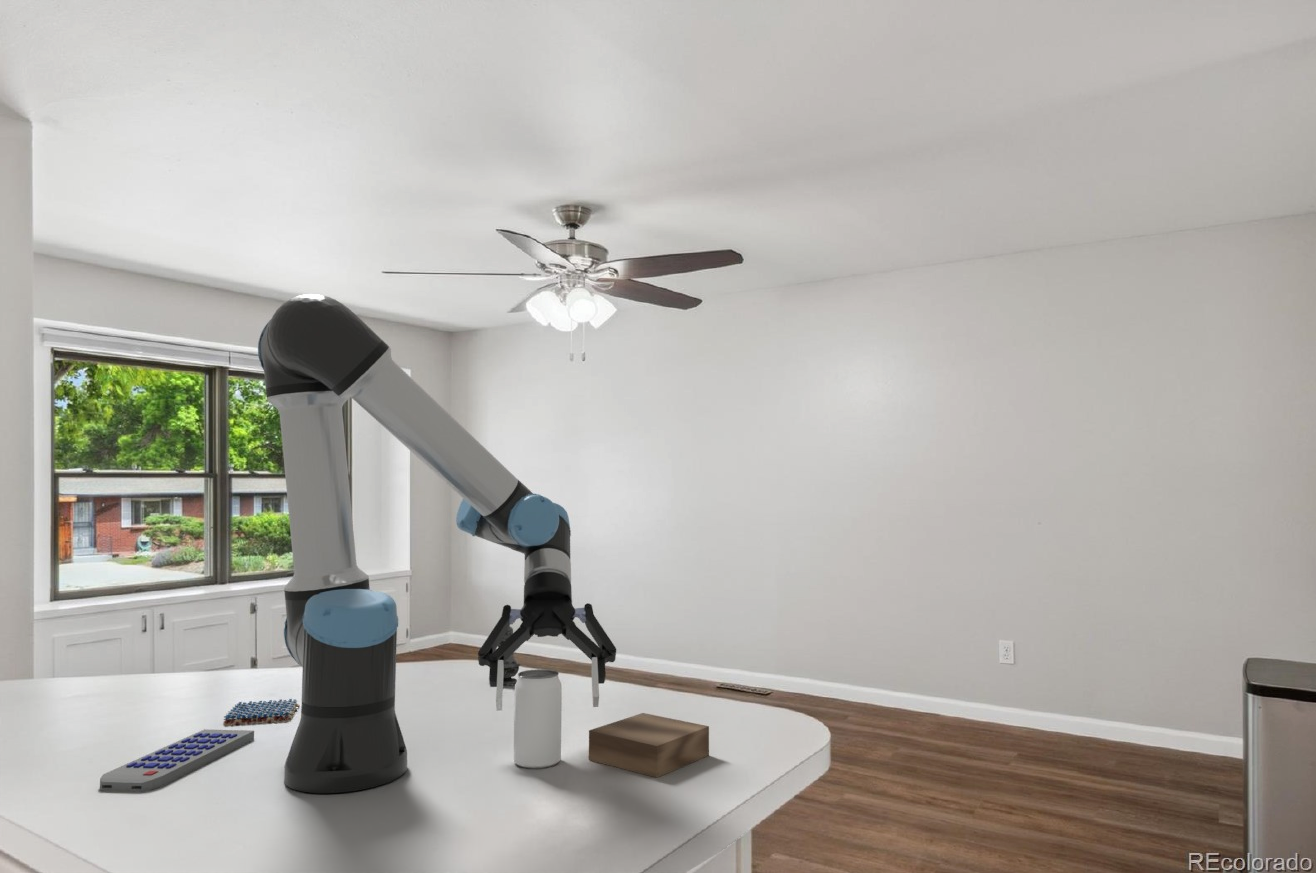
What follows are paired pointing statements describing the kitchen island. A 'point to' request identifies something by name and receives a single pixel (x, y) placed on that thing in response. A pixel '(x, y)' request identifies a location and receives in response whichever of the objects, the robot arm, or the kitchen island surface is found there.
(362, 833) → the kitchen island surface
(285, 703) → the woven mat
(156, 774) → the remote control
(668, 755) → the walnut stand
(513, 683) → the salt shaker
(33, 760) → the kitchen island surface
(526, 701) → the can
